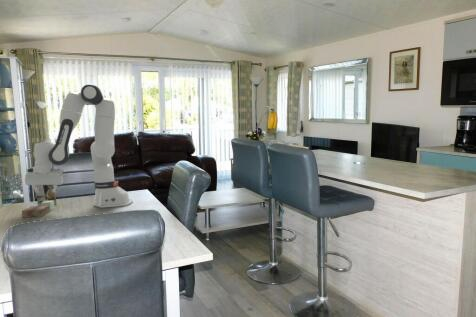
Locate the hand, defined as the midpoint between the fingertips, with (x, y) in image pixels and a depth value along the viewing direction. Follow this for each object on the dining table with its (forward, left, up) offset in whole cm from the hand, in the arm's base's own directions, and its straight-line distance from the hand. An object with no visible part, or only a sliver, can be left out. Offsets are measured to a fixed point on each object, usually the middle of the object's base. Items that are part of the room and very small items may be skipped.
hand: (45, 192), depth 211 cm
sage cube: (-1, 0, -11) cm, 11 cm away
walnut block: (+1, +10, -11) cm, 15 cm away
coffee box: (+4, -10, -11) cm, 15 cm away
